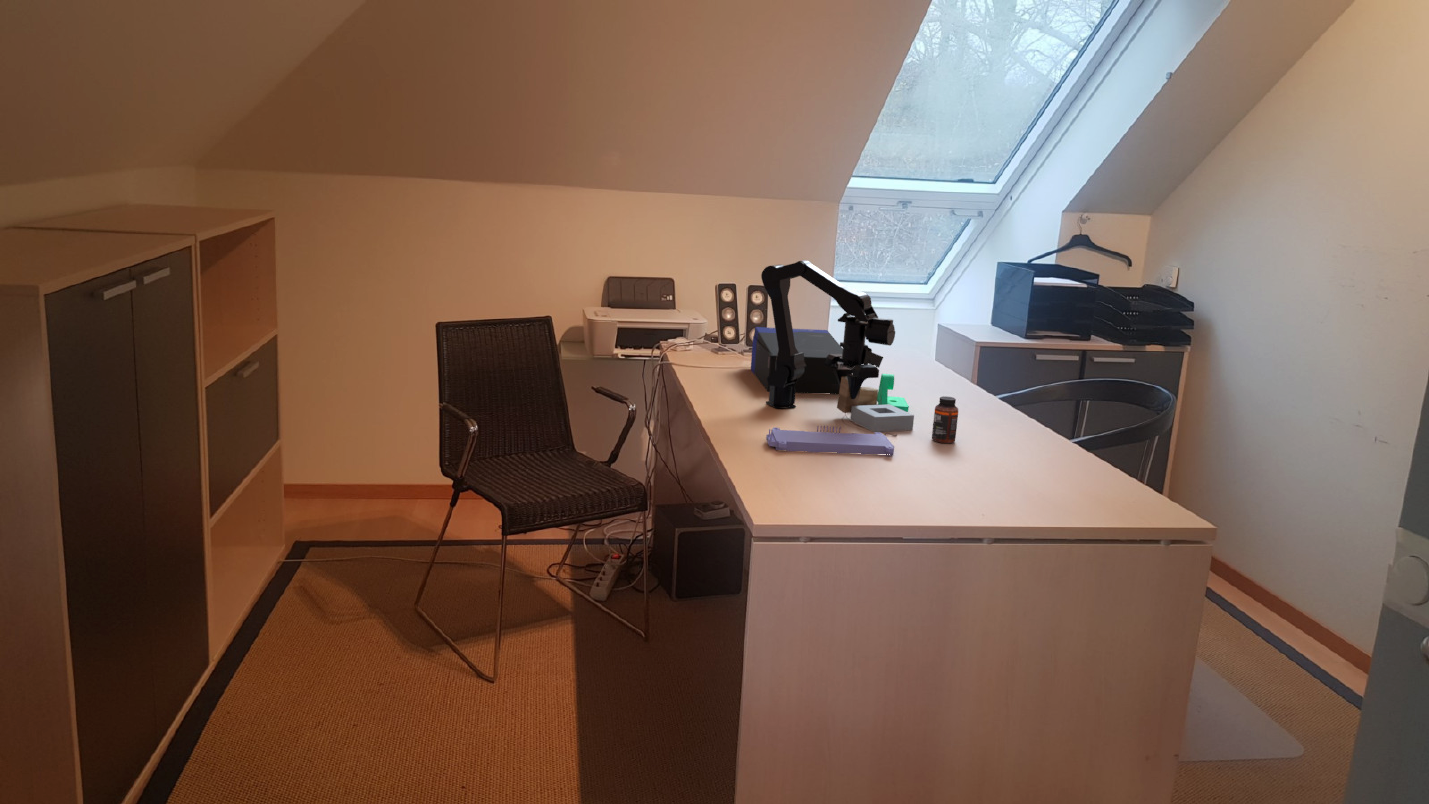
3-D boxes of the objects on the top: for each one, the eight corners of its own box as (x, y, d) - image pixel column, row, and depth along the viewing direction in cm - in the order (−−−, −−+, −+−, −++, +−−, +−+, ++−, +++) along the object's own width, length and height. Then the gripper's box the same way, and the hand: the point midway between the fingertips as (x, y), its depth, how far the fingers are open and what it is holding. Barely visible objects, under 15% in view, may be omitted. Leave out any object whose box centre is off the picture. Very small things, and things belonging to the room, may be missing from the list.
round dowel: (862, 412, 293) (864, 391, 292) (852, 407, 298) (854, 387, 297) (879, 412, 296) (881, 391, 294) (869, 407, 301) (871, 386, 299)
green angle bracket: (908, 416, 294) (912, 380, 291) (880, 414, 294) (884, 378, 292) (902, 406, 306) (906, 371, 303) (876, 404, 306) (880, 369, 303)
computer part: (763, 437, 263) (770, 454, 248) (764, 420, 262) (771, 436, 247) (881, 442, 265) (895, 459, 250) (883, 426, 264) (896, 442, 249)
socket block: (873, 432, 273) (875, 417, 272) (850, 420, 284) (851, 405, 283) (912, 429, 278) (914, 415, 277) (888, 418, 289) (889, 404, 288)
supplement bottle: (956, 440, 271) (961, 397, 268) (953, 445, 265) (958, 401, 263) (932, 436, 273) (937, 394, 270) (929, 441, 267) (934, 398, 264)
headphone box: (822, 370, 349) (826, 328, 345) (848, 395, 315) (853, 348, 312) (749, 368, 345) (752, 325, 342) (767, 392, 311) (771, 345, 308)
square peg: (844, 413, 283) (849, 381, 280) (836, 407, 286) (841, 376, 283) (856, 412, 285) (861, 381, 282) (849, 407, 288) (854, 376, 285)
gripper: (899, 346, 275) (892, 404, 279) (862, 333, 292) (856, 388, 296) (862, 347, 271) (856, 405, 275) (827, 333, 288) (822, 389, 291)
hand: (848, 397), depth 284 cm, fingers closed on square peg, 4 cm apart
